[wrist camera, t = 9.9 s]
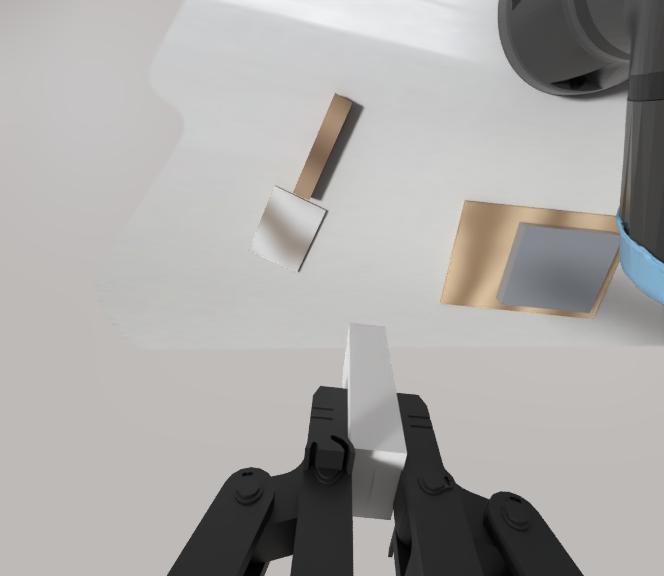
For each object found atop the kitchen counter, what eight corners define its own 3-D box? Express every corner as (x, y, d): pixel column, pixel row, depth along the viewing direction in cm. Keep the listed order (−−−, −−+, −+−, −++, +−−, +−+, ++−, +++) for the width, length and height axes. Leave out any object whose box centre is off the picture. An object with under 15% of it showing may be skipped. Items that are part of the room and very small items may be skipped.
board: (440, 301, 44) (441, 303, 44) (464, 200, 39) (466, 201, 39) (590, 316, 44) (593, 319, 44) (633, 217, 39) (637, 219, 39)
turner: (315, 83, 35) (314, 82, 34) (371, 113, 36) (372, 113, 35) (249, 249, 42) (245, 254, 41) (297, 271, 43) (295, 276, 42)
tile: (501, 304, 41) (589, 313, 41) (526, 225, 38) (623, 235, 38) (495, 297, 43) (580, 306, 43) (518, 221, 39) (612, 231, 39)
